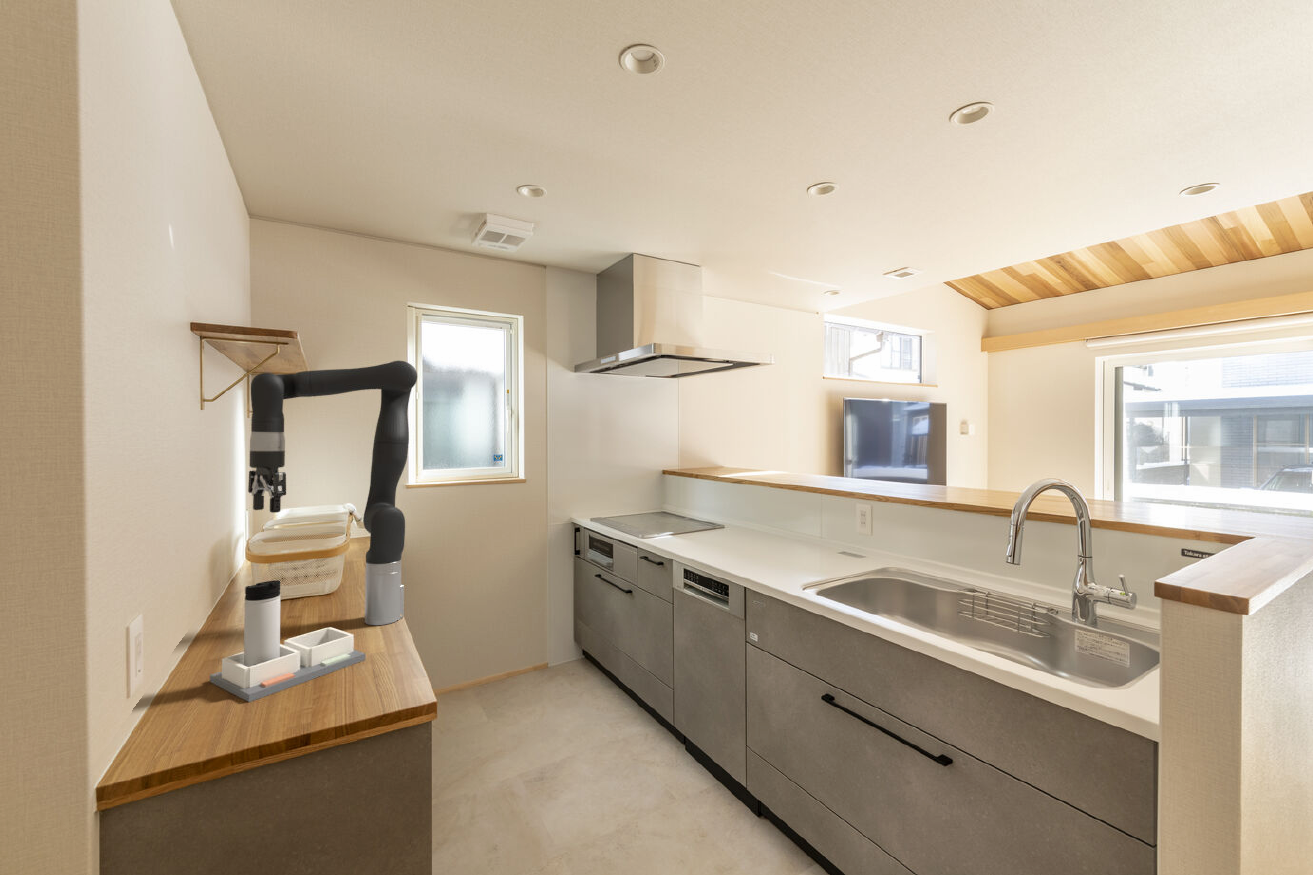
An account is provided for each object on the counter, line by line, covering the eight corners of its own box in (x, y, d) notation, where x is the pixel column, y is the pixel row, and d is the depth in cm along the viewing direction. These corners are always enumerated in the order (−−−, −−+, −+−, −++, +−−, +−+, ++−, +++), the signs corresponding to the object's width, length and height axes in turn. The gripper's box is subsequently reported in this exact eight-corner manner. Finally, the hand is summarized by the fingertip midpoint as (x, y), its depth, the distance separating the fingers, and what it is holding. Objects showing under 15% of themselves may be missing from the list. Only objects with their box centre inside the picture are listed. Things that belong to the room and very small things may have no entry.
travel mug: (261, 681, 113) (263, 586, 113) (236, 678, 114) (237, 583, 114) (287, 668, 119) (289, 578, 119) (263, 665, 120) (264, 576, 120)
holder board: (324, 645, 136) (325, 623, 136) (365, 659, 128) (365, 636, 128) (209, 681, 115) (210, 656, 115) (249, 702, 107) (249, 674, 107)
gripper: (297, 449, 141) (296, 511, 141) (269, 448, 148) (268, 507, 148) (265, 450, 135) (264, 514, 135) (237, 448, 142) (236, 510, 142)
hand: (266, 510), depth 141 cm, fingers open, 8 cm apart
